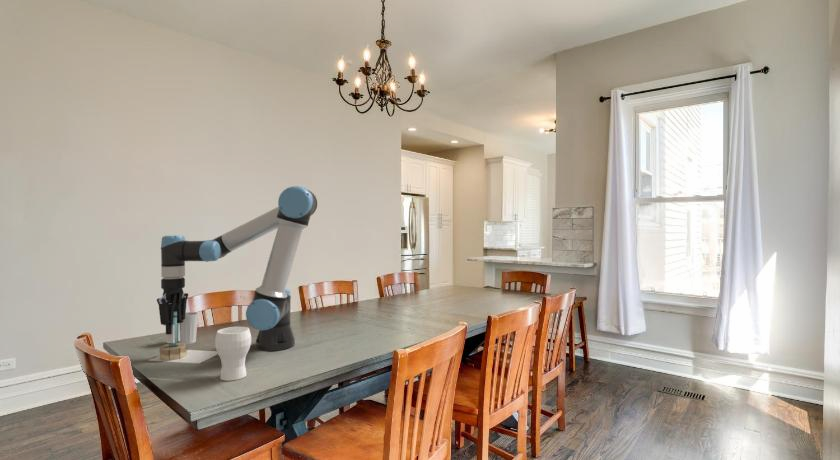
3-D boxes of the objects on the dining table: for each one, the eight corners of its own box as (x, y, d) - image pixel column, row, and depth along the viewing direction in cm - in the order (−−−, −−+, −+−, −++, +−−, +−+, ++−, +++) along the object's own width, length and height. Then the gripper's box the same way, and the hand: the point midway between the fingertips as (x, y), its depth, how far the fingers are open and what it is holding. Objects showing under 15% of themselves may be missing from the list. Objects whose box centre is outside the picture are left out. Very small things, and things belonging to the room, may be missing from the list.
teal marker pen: (178, 352, 156) (178, 311, 156) (173, 354, 154) (173, 312, 154) (172, 351, 157) (172, 311, 157) (167, 353, 154) (167, 312, 154)
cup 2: (222, 371, 141) (222, 326, 141) (255, 370, 142) (255, 325, 142) (209, 383, 131) (209, 334, 131) (245, 382, 132) (245, 333, 131)
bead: (191, 354, 159) (191, 343, 159) (175, 361, 151) (175, 349, 151) (171, 353, 160) (171, 342, 160) (154, 359, 152) (154, 348, 152)
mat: (223, 352, 162) (223, 351, 162) (198, 364, 148) (198, 363, 148) (176, 350, 165) (176, 349, 165) (148, 361, 151) (148, 360, 151)
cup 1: (188, 346, 171) (188, 316, 171) (171, 345, 172) (171, 315, 172) (202, 341, 179) (202, 312, 179) (186, 339, 180) (186, 311, 180)
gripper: (178, 275, 163) (178, 336, 163) (147, 279, 148) (147, 347, 148) (196, 275, 162) (196, 336, 162) (167, 280, 147) (167, 348, 147)
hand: (173, 341), depth 155 cm, fingers closed on teal marker pen, 2 cm apart
